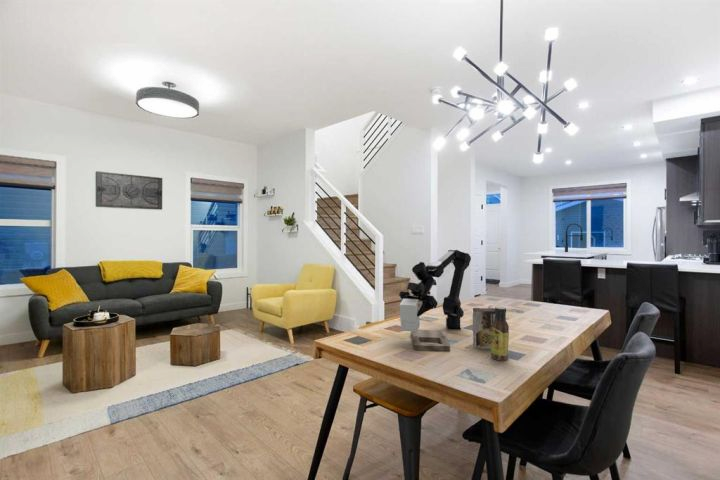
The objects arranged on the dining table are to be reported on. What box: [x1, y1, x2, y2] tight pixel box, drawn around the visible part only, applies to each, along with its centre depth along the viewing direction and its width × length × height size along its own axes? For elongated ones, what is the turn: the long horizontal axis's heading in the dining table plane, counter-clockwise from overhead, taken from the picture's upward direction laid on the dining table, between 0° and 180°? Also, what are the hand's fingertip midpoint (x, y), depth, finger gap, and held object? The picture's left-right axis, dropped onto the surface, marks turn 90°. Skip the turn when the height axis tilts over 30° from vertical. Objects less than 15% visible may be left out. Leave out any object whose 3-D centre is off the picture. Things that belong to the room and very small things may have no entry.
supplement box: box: [399, 299, 421, 333], centre depth 159 cm, size 7×7×13 cm
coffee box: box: [472, 307, 495, 350], centre depth 152 cm, size 9×6×16 cm
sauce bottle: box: [490, 306, 510, 361], centre depth 138 cm, size 6×6×20 cm
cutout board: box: [410, 329, 451, 352], centre depth 159 cm, size 14×24×2 cm, turn 175°
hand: (409, 314), depth 159 cm, fingers closed on supplement box, 9 cm apart
